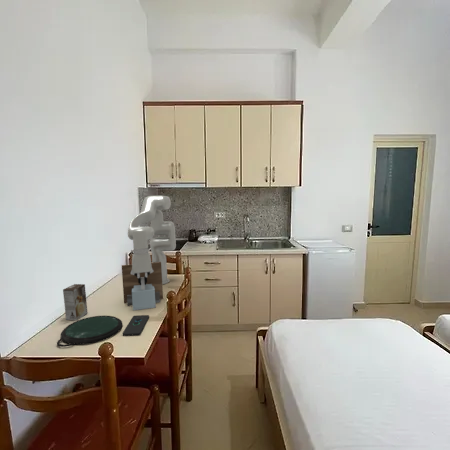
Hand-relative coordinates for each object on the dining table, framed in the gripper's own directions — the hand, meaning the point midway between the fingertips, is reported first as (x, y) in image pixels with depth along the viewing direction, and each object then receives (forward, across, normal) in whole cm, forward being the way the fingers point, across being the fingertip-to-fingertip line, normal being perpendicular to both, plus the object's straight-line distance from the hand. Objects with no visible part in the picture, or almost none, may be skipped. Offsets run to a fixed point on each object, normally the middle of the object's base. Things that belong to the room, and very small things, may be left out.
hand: (142, 284), depth 170 cm
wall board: (+13, 0, +8) cm, 15 cm away
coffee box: (+13, -34, -1) cm, 36 cm away
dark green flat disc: (+14, -25, -23) cm, 37 cm away
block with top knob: (+13, 0, +3) cm, 13 cm away
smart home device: (+14, -4, -24) cm, 28 cm away
